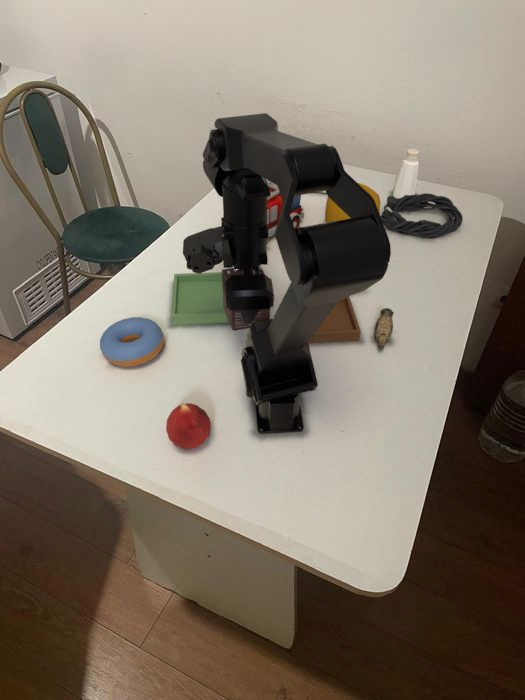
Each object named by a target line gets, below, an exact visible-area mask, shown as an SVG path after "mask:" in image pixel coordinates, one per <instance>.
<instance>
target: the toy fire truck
mask: <svg viewBox="0 0 525 700" xmlns="http://www.w3.org/2000/svg"><path fill="white" fill-rule="evenodd" d="M267 182H268V186H269V189H270V193H271V195H270V196H269V197H267V226H268V238H267V239H266V245H268V241H269V238H270V237H272V236H273V235H274V236H275V231H276V227H277V223H278V219H279V215H280V211H281V208H282V204H283V201H282V198H281V195H280V192H279V189H278V186H277V185H275V184H274V183H272V182H270V181H268V180H267ZM301 199H302V195H296V196H294V199H293V203H292V207H291V211H290V216H291V219H292V222H293V225H294V228H295V229H296V228H299V227H300V224H301V223H300V222H301V221H302V219H304V218H305V212H304V208H303V207H302V205H301Z"/></svg>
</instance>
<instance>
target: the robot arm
mask: <svg viewBox="0 0 525 700" xmlns="http://www.w3.org/2000/svg"><path fill="white" fill-rule="evenodd" d="M202 158H203V161H202V168H203V172H204V174H205V176H206V177H207V179H208V180H209V182H210V184H211V185H212V187H213V188H214V190H215V192H216V193H217V195H218V196H219V197H221V198H222V213H223V215H222V217H220V221H221V225H219V226H216V227H210V228H207V229H204V230H201V231H199V232H196V233H193V234H190V235H187V236H186V237H185V238H184V239H183V242H182V255H183V257H184V259H185V261H186V268H187V270H191V271H192V273H198V274H200V273H207V272H208V271H212V270H213V269H214V268H215V266H217V265H220V264H222V263H223V269H229V268H234V271H241V269H243V275H232V276H230V277H229V278H228V279H227V280H226V281H225V294H226V308H227V309H229V310H231V311H233V310H240V312H241V315H242V319H243V322H244V323H245V324H249V323H252V321H253V320H254V318H255V317H256V315H257V314H258V312H259V311H260V309H270V310H271V309H272V308H273V307H274V306H275V305H274V302H275V301H274V300H275V293H274V288H273V281H272V278H270V277H269V276H268V275H267V274H260V269H259V265H261V266H263V265H264V266H265V265H268V263H269V258H268V252H267V244H266V239H267V238H268V239H269V237H268V226H267V197H269V196H270V195H271V193H270V189H269V186H268V181H270V182H272V183H274V184H275V185H277V186H278V189H279V192H280V195H281V198H282V201H283V204H282V208H281V211H280V215H279V219H278V223H277V227H276V231H275V234H274V236H275V240H276V243H277V247H278V250H279V252H280V255H281V259H282V262H283V266H284V268H285V272H286V274H287V277H288V278H289V281H290V284H289V286H288V288H287V289H286V292H285V293H284V295H283V297H282V300H281V301H280V304H279V305H278V308H277V310H276V311H275V314H274V316H273V317H272V318H270V319H269V320H264V321H260V322H255V323H253V324H252V325H251V326H250V328H248V332H246V333H245V337H246V338H247V339H245V344H244V347H242V351H241V353H240V354H241V359H240V365H241V370H242V376H243V381H244V385H245V395H246V398H249V399H251V400H254V408H255V419H256V430H257V433H258V434H261V435H265V434H267V435H268V434H281V433H282V434H283V433H284V434H285V433H299V432H300V433H301V432H303V431H304V429H305V428H304V427H305V426H304V419H303V414H302V409H301V404H300V403H301V394H304V393H308V392H314V391H316V389H317V388H318V386H319V382H318V379H317V374H316V370H315V366H314V361H313V357H312V353H311V348H310V344H309V343H308V341H309V340H310V339H311V337H312V336H313V335H314V333H315V332H316V331H317V329H318V328H319V327H320V325H321V324H322V323H323V321H324V320H325V319H326V318H327V316H328V315H329V314H330V312H331V311H332V310H333V308H334V307H335V306H336V304H337V303H338V302H339V301H340V300H342V299H344V298H347V297H351V296H353V295H354V296H355V295H357V294H359V293H360V292H365V291H366V290H368V289H370V288H371V287H372V286H374V285H376V284H377V283H378V282H380V281H381V280H383V278H384V277H385V275H386V273H387V271H388V269H389V268H388V267H389V262H390V260H391V255H392V249H391V247H392V246H391V241H390V239H389V236H388V233H387V230H386V227H385V224H384V222H383V221H382V219H381V216H382V215H380V214H381V213H380V214H379V211H378V208H377V206H376V203H375V200H374V199H373V197H372V196H371V195H370V194H369V193H368V192H367V191H365V190H364V189H363V188H362V187H361V186H360V185H359V184H358V183H359V182H358V181H356V180H355V179H354V178H353V177H352V176H351V175H350V174H348V172H347V171H346V170H345V168H344V165H343V162H342V160H341V159H342V158H341V157H340V154H339V152H338V150H337V148H336V147H335V146H333V145H327V144H326V143H315V142H313V141H309V140H306V139H303V138H300V137H297V136H293V135H291V134H288V133H285V132H281V131H279V122H277V120H276V119H274V118H273V117H272V116H271V115H270V114H268V113H267V112H263V113H254V114H246V115H245V114H244V115H237V116H227V117H219V118H216V119H215V121H214V128H213V129H211V130H210V131H209V136H208V140H207V142H206V144H205V147H204V149H203V152H202ZM322 191H326V193H325V194H326V195H327V198H328V197H329V198H330V199H331V200H332V201H333V202H334V203H335V204H336V205H337V206H339V207H340V208H341V209H342V210H343V211H344V212H345V213H346V214H347V215H348V216H349V217H350V218H351V219H345V220H340V221H334V222H328V223H325V222H323V223H317V224H312V225H306V226H301V227H300V226H299V227H298V228H296V229H295V228H294V225H293V222H292V219H291V216H290V211H291V207H292V203H293V199H294V196H296V195H301V196H302V195H309V194H315V193H323V192H322ZM251 268H252V272H253V275H252V274H251Z"/></svg>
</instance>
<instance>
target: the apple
mask: <svg viewBox="0 0 525 700" xmlns="http://www.w3.org/2000/svg"><path fill="white" fill-rule="evenodd" d="M357 183H358V184H359V185H360V186H361V187H362V188H363V189H364V190H365V191H367V192H368V193H369V194H370V195H371V196H372V197H373V199H374V200H375V203H376V206H377V208H378V211H379V214H381V204H382V203H381V198H380V195H379V194H378V192H376V191H375V190H374V189H373V188H371V187H369V186H368V185H366V184H363V183H360V182H357ZM345 219H351V218H350V217H349V216H348V215H347V214H346V213H345V212H344V211H343V210H342V209H341V208H340V207H339V206H337V205H336V204H335V203H334V202H333V201H332V200H331V199H330V198H329V197H328V196H327V198H326V203H325V212H324V223H328V222H334V221H340V220H345Z"/></svg>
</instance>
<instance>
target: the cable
mask: <svg viewBox="0 0 525 700" xmlns="http://www.w3.org/2000/svg"><path fill="white" fill-rule="evenodd" d="M421 210H423V211H431V210H432V211H433V210H438V211H440V212H442V213H444V214H445V215H447V216H448V217H447V218H449V219H448V220H447V221H446V222H444V223H443V224H441V223H438V222H435V221H431V220H426V219H419V220H417V221H413V220H407V219H406V218H405V217H403V216H402V215H401V214H400V213H398V211H400V212H415V211H421ZM380 216H381V219H382V222H383V224H384V226H386V227H387V228H388V230H395V231H398V232H400V233H405V234H406V233H407V234H408V233H410V234H413V235H416V236H419V237H422V238H431V237H436V236H437V237H439V236H442V235H445V234H448V233H450V232H452V231H454V230H457V229H459V228H460V226H461V225H462V224H463V221H464V220H463V219H464V218H463V214H462V212H461V211H460V210H459V209H458V207H457V206H456V205H454V202H453V201H452V199H450V198H449V197H447V196H443V195H435V194H434V193H426V192H425V193H419V194H415V195H405V196H404V197H401V198H395V197H393V195H388V196H387V198H386V204H385V205H384V206H383V211H382V212H381V215H380ZM394 219H395V220H394Z"/></svg>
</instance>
